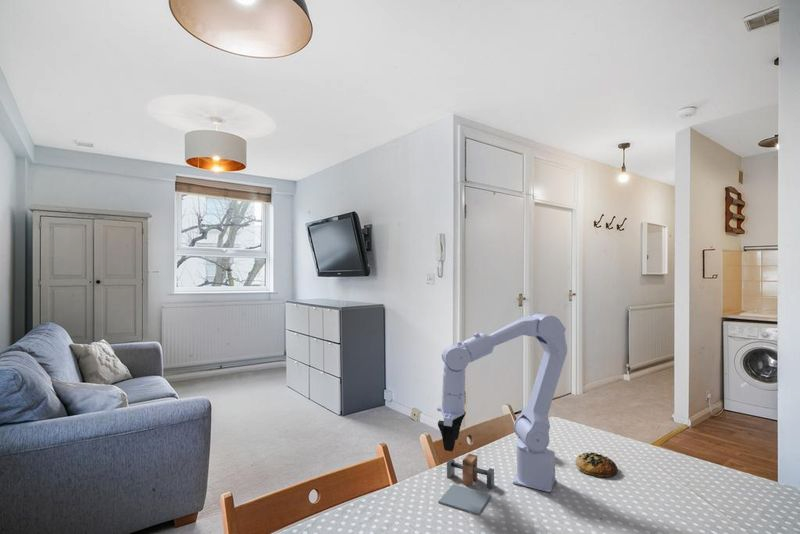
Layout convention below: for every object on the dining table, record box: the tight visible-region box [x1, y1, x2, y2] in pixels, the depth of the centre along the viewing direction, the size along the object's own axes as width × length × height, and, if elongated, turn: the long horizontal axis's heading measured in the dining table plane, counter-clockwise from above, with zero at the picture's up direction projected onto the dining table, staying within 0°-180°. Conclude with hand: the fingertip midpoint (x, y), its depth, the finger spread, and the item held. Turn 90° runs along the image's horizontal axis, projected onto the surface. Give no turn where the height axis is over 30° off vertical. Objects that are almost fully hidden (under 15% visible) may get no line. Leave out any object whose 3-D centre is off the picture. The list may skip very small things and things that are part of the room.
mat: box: [438, 483, 492, 516], centre depth 99 cm, size 10×9×1 cm
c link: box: [462, 453, 478, 487], centre depth 108 cm, size 2×5×6 cm, turn 150°
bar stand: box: [446, 458, 495, 490], centre depth 107 cm, size 12×2×4 cm, turn 60°
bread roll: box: [574, 452, 618, 478], centre depth 114 cm, size 11×11×5 cm
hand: (451, 444), depth 106 cm, fingers open, 7 cm apart
